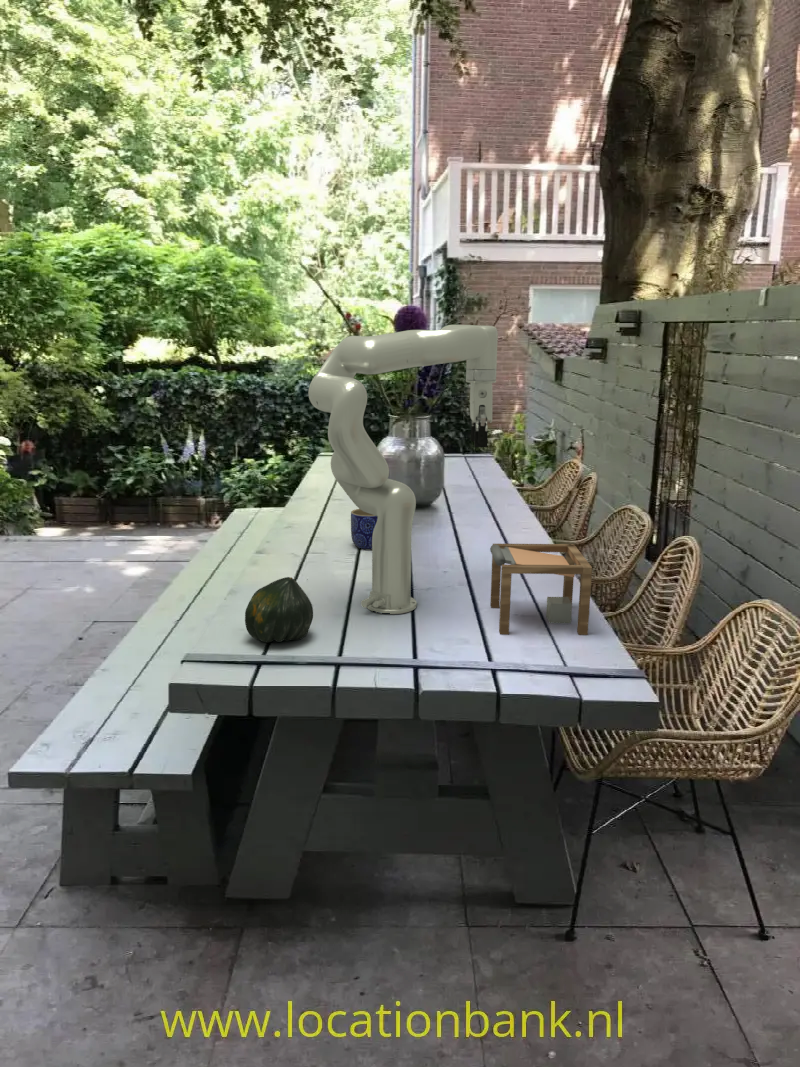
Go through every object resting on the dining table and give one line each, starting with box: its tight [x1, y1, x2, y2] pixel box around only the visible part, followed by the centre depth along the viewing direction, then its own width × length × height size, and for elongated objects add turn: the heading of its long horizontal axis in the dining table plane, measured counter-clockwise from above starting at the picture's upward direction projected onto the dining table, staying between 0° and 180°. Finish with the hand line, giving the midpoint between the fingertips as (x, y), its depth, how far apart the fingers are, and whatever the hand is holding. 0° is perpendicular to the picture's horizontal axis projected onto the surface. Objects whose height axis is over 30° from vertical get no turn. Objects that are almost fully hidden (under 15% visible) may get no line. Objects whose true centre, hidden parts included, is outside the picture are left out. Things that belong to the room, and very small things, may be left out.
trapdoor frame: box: [490, 543, 593, 636], centre depth 205 cm, size 20×20×16 cm
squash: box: [244, 576, 314, 643], centre depth 192 cm, size 14×15×15 cm
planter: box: [350, 508, 378, 550], centre depth 267 cm, size 11×11×11 cm
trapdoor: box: [489, 543, 576, 578], centre depth 203 cm, size 14×18×2 cm
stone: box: [545, 596, 573, 624], centre depth 206 cm, size 5×5×5 cm
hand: (478, 444), depth 221 cm, fingers open, 9 cm apart
